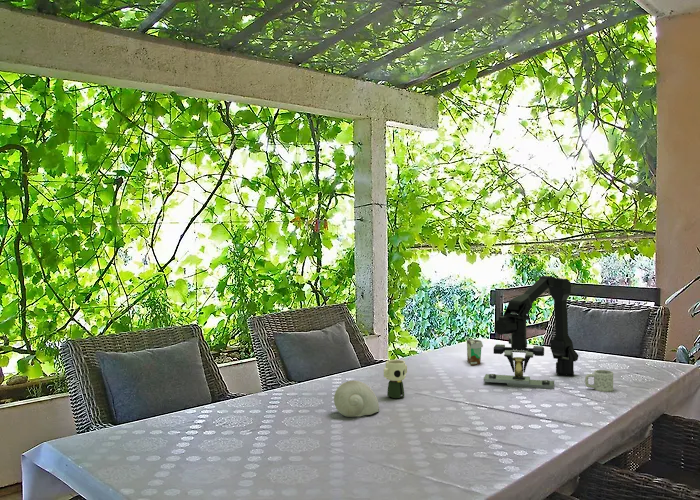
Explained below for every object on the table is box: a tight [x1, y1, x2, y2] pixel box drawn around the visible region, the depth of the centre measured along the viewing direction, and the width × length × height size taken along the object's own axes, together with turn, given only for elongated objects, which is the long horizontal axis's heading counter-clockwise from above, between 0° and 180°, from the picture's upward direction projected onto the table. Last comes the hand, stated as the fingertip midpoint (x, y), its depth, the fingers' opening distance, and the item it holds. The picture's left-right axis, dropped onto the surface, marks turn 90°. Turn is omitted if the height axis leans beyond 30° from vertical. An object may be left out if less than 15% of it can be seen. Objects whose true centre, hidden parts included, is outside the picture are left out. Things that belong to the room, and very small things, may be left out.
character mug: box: [383, 359, 408, 399], centre depth 238 cm, size 11×7×13 cm, turn 127°
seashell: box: [333, 380, 380, 418], centre depth 220 cm, size 15×14×15 cm
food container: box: [466, 338, 484, 367], centre depth 293 cm, size 12×6×10 cm, turn 179°
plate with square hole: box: [483, 373, 555, 390], centre depth 255 cm, size 26×8×3 cm, turn 72°
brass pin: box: [513, 356, 525, 377], centre depth 255 cm, size 4×4×7 cm
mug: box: [584, 369, 614, 393], centre depth 245 cm, size 10×7×7 cm, turn 84°
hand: (518, 372), depth 255 cm, fingers closed on brass pin, 3 cm apart
